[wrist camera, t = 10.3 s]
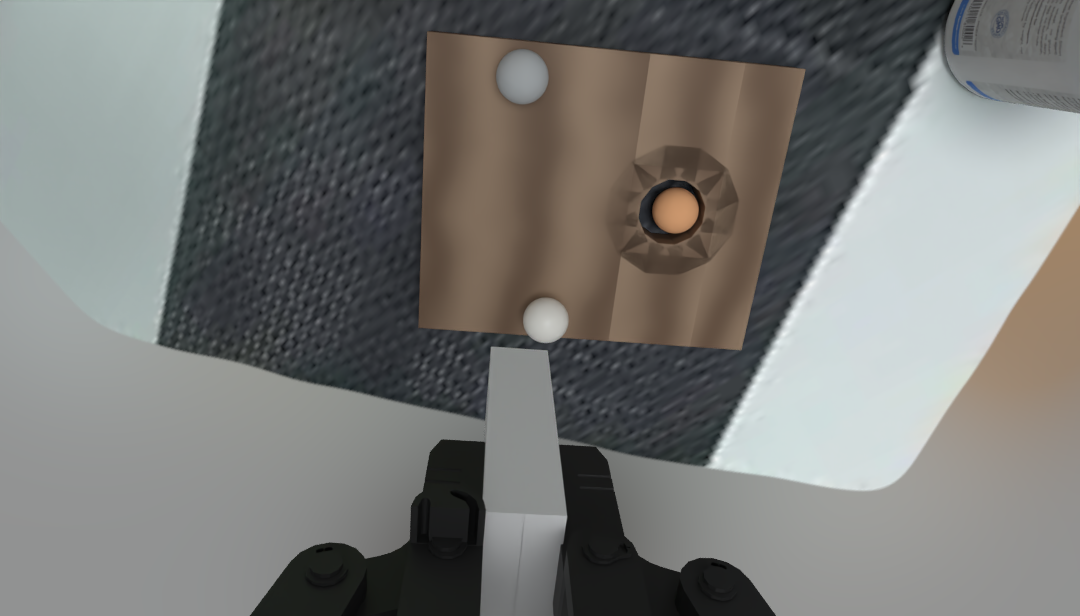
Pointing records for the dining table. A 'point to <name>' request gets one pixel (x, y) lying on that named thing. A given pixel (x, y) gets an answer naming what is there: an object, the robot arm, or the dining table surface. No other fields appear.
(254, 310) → the dining table surface
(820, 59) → the dining table surface
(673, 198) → the ball
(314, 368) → the dining table surface
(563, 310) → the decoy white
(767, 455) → the dining table surface
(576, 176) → the board
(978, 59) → the supplement tub
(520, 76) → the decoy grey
